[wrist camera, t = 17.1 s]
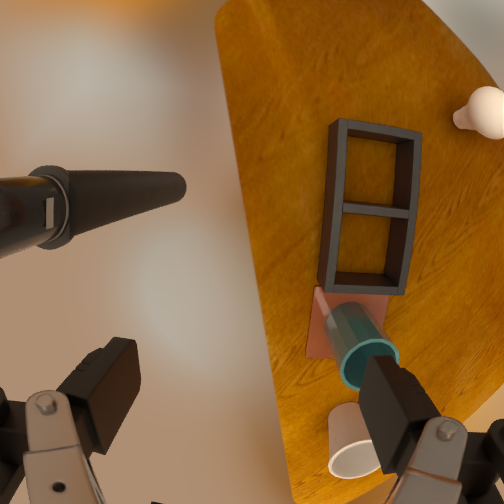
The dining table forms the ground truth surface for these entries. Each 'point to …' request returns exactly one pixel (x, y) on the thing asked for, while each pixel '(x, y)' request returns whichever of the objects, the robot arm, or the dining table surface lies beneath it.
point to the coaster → (325, 305)
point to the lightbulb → (483, 113)
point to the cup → (356, 341)
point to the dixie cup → (350, 443)
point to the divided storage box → (370, 210)
